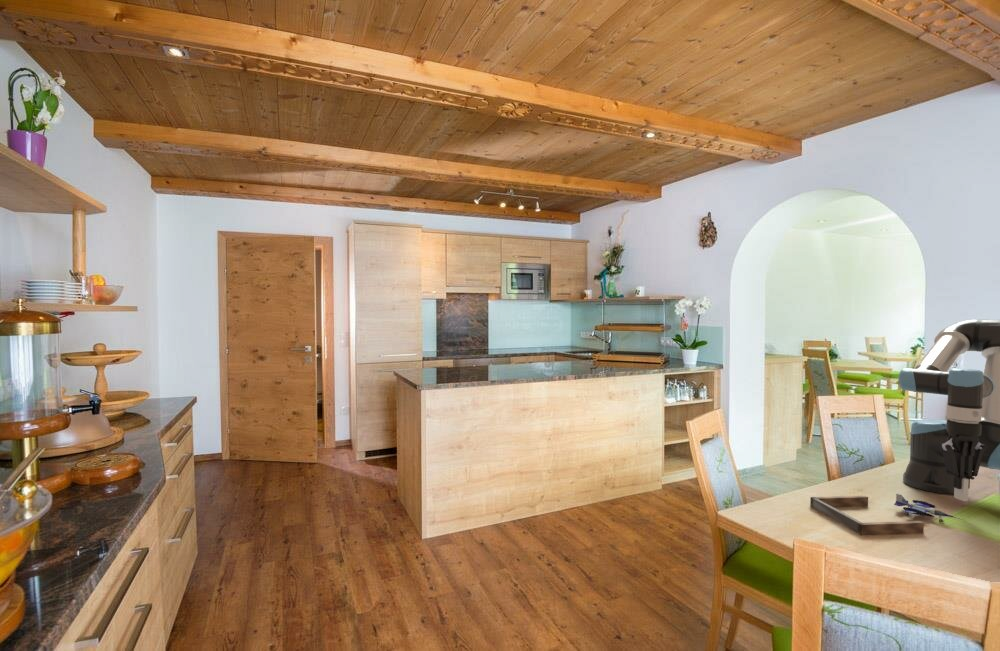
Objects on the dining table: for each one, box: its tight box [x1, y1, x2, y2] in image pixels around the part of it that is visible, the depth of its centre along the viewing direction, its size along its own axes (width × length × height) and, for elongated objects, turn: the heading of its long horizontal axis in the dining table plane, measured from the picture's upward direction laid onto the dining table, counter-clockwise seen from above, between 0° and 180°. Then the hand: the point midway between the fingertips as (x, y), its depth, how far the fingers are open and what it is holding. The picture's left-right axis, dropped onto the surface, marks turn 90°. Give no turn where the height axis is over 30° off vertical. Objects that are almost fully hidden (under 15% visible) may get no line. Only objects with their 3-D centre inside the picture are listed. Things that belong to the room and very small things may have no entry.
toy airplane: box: [893, 493, 967, 523], centre depth 142 cm, size 13×14×4 cm
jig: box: [809, 495, 925, 537], centre depth 141 cm, size 18×19×3 cm
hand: (960, 499), depth 143 cm, fingers closed
